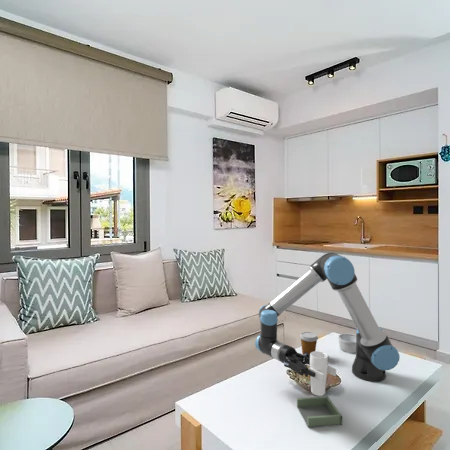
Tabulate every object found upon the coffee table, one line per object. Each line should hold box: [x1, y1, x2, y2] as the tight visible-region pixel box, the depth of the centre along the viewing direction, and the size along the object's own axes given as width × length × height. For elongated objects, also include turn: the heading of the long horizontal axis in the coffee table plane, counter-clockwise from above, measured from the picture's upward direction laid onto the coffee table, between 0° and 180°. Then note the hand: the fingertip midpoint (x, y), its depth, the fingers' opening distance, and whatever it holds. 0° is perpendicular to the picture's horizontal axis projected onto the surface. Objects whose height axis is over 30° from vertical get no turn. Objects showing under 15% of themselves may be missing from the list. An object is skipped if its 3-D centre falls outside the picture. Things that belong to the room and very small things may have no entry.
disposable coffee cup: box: [299, 331, 319, 354], centre depth 181 cm, size 10×10×12 cm
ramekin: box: [338, 333, 356, 354], centre depth 190 cm, size 13×13×7 cm
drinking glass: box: [309, 350, 329, 397], centre depth 128 cm, size 7×7×15 cm
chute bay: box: [296, 396, 343, 429], centre depth 129 cm, size 13×13×4 cm
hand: (329, 375), depth 124 cm, fingers closed on drinking glass, 6 cm apart
